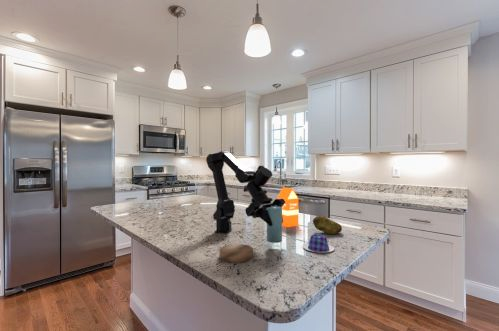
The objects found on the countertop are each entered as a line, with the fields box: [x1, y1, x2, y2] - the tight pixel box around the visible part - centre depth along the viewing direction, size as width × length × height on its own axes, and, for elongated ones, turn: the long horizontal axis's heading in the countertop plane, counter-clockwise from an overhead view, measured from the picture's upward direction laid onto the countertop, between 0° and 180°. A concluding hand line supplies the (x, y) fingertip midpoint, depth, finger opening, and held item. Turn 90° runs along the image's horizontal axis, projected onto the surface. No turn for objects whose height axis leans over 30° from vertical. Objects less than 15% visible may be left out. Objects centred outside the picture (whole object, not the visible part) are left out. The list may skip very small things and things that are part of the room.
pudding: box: [302, 233, 335, 254], centre depth 99 cm, size 12×12×5 cm
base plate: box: [219, 243, 254, 264], centre depth 91 cm, size 12×12×2 cm
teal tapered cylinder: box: [266, 206, 283, 244], centre depth 99 cm, size 6×6×13 cm
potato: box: [312, 215, 343, 235], centre depth 120 cm, size 8×13×8 cm, turn 63°
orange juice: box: [276, 186, 300, 228], centre depth 137 cm, size 8×9×20 cm
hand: (277, 224), depth 98 cm, fingers closed on teal tapered cylinder, 6 cm apart
